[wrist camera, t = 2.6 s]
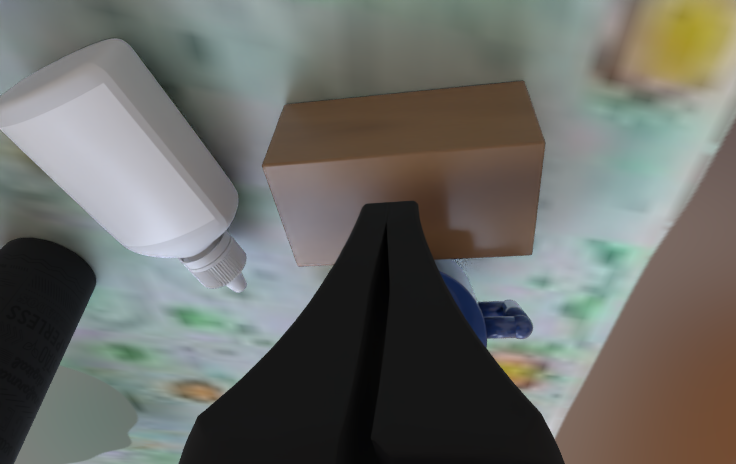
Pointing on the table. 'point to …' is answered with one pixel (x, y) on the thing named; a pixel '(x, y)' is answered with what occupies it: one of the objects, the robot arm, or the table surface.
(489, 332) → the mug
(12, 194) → the table surface
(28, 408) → the drinking cup
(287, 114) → the oak block
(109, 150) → the eye dropper bottle
